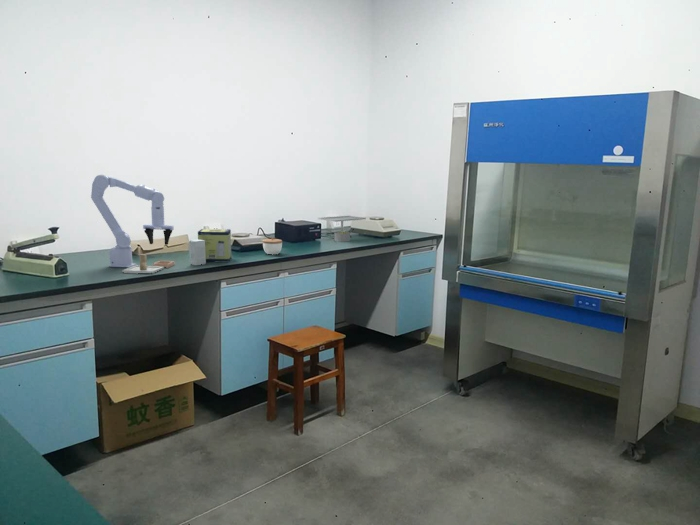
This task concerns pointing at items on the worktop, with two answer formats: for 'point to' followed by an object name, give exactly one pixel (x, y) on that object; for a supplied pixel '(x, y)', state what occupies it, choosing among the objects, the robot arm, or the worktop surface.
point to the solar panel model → (342, 235)
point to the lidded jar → (272, 246)
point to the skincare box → (197, 252)
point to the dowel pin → (143, 262)
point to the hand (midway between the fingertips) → (159, 244)
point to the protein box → (216, 244)
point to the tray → (137, 270)
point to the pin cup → (164, 263)
